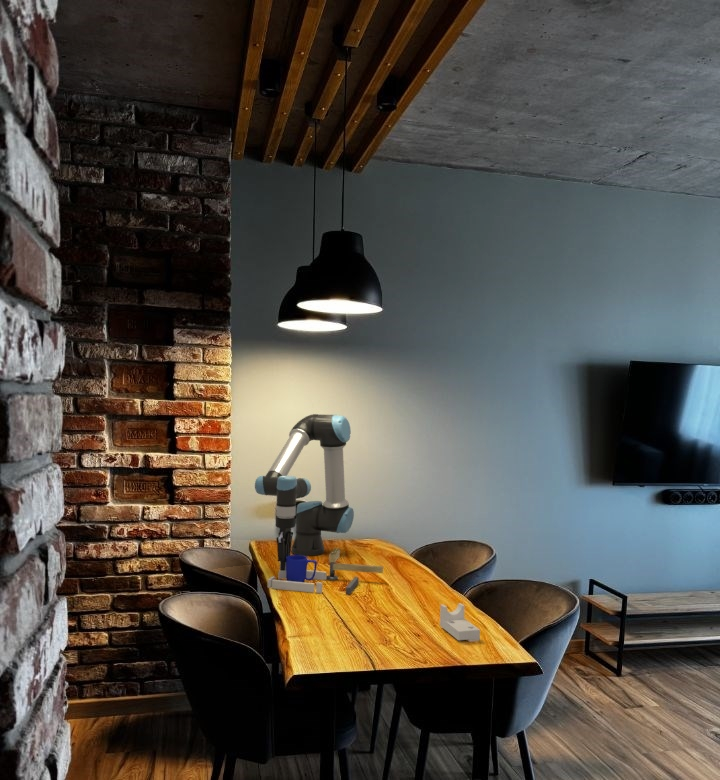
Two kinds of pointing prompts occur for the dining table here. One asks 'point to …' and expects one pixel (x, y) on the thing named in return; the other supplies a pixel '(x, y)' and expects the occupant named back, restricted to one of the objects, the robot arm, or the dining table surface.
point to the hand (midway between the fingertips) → (283, 578)
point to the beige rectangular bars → (298, 583)
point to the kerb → (352, 585)
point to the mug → (298, 568)
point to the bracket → (458, 624)
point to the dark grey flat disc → (332, 578)
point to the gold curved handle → (349, 565)
